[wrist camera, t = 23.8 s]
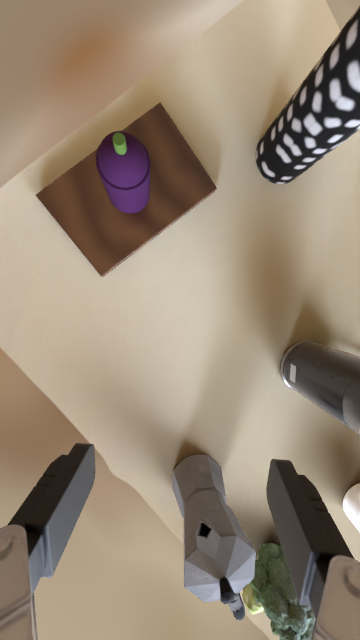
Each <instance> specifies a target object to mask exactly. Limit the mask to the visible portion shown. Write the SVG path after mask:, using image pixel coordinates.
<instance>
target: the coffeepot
mask: <svg viewBox="0 0 360 640" xmlns="http://www.w3.org/2000/svg"><path fill="white" fill-rule="evenodd" d="M173 491H174V494H175V497H176V500H177V502H178V505H179V508H180V511H181V514H182V517H183V518H184V587H185V588H186V589H188V590H189V591H190V592H192V593H193V594H194V595H195V596H197V597H198V598H199V599H201V600H202V601H203V602H211V601H218V600H221V602H223V603H224V604H228V605H229V607H230V609H231V611H233V614H234V617H235V618H236V619H237V620H242V619H243V618H244V616H245V608H244V604H243V602H242V599H241V596H240V593H239V592H240V591H241V590H242V589H243V588H244V587H245V586H246V585H247V584H248V583H249V582H250V581H251V580H252V579H253V578H254V572H255V558H256V551H255V550H254V548H253V546H252V544H251V543H250V541H249V539H248V537H247V536H246V534H245V532H244V530H243V529H242V527H241V525H240V523H239V522H238V520H237V518H236V516H235V515H234V513H233V511H232V509H231V508H230V507H229V506H228V505H227V504H226V495H225V489H224V483H223V477H222V472H221V467H220V466H219V465H218V464H217V463H216V462H215V461H214V460H213V459H212V458H210V457H209V456H208V455H200V454H197V455H192V456H187V457H186V458H185V459H183V460H182V461H181V462H180V463H179V464H178V465H177V467H176V468H175V469H174V470H173Z"/></svg>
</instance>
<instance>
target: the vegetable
mask: <svg viewBox="0 0 360 640" xmlns="http://www.w3.org/2000/svg"><path fill="white" fill-rule="evenodd" d="M258 558H259V559H258V560H255V572H254V578H253V579H252V580H251V581H250V582H249V584H247V585H246V586H245V587H244V588H243V600H244V603H245V605H246V607H247V609H248V610H249V611H250V612H251V613H252V614H256V613H259V612H263V613H266V615H267V616H268V617H269V619H270V620H271V628H272V632H273V634H274V635H275V634H276V635H277V636H278V634H279V637H280V640H311V635H312V631H313V626H314V622H315V616H314V613H313V610H312V607H311V606H307V605H299V601H298V598H297V595H296V592H295V588H294V585H293V582H292V579H291V576H290V572H289V569H288V566H287V563H286V559H285V556H284V553H283V550H282V546H281V544H280V546H278V545H276V544H273V543H269V544H266V543H264V544H263V545H262V548H261V550H260V551H259V553H258Z"/></svg>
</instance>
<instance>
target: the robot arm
mask: <svg viewBox="0 0 360 640" xmlns="http://www.w3.org/2000/svg"><path fill="white" fill-rule="evenodd" d="M280 371H281V376H282V379H283V381H284V382H285V384H286V385H287V386H288V387H290V388H291V389H293V390H295V391H297V392H298V393H300V394H301V395H302V396H304V397H305V398H307V399H308V400H310V401H311V402H313V403H314V404H315V405H317V406H318V407H320V408H321V409H323V410H324V411H326V412H327V413H329V414H330V415H332V416H333V417H334V418H336V419H337V420H339V421H340V422H342V423H343V424H345V425H346V426H348V427H349V428H351V429H352V430H353V431H355V432H357V433H358V434H359V435H360V356H356V355H353V354H350V353H347V352H344V351H340V350H337V349H334V348H331V347H328V346H325V345H322V344H320V343H317V342H314V341H308V340H306V341H300V342H298V343H296V344H294V345H292V346H291V347H290V348H289V349H288V350H287V351H286V352H285V354H284V356H283V358H282V361H281V366H280ZM94 452H95V450H94V445H93V444H84V443H76V444H75V445H74V447H73V448H72V450H71V451H70V453H69V454H68V455H61V456H60V457H58V458H57V459H56V460H55V461H54V462H52V463H51V464H50V466H49V467H48V468H47V470H46V471H45V473H44V474H43V477H41V478H40V480H39V481H38V483H37V485H36V486H35V487H34V488H33V490H32V491H31V493H30V494H29V495H28V497H27V498H26V500H25V501H24V503H23V504H22V505H21V507H20V508H19V510H18V511H17V512H16V514H15V515H14V517H13V518H12V520H11V521H10V522H9V524H8V525H7V526H5V527H2V528H0V640H38V635H37V623H36V611H35V599H34V590H35V588H36V586H37V584H38V582H39V580H40V578H41V577H48V578H52V576H53V574H54V571H55V569H56V567H57V565H58V563H59V560H60V558H61V556H62V554H63V551H64V549H65V547H66V545H67V542H68V540H69V538H70V535H71V533H72V531H73V529H74V527H75V524H76V522H77V520H78V517H79V516H80V513H81V511H82V509H83V506H84V504H85V502H86V500H87V497H88V495H89V493H90V491H91V489H92V486H93V483H94V479H95V453H94ZM267 500H268V504H269V508H270V511H271V514H272V517H273V521H274V524H275V527H276V530H277V533H278V537H279V540H280V543H281V546H282V550H283V553H284V556H285V559H286V563H287V566H288V569H289V572H290V576H291V579H292V582H293V585H294V588H295V592H296V595H297V598H298V601H299V605H307V606H311V607H312V610H313V613H314V616H315V622H314V626H313V631H312V635H311V640H360V562H358V561H356V560H355V559H354V557H353V556H352V554H351V552H350V550H349V548H348V547H347V545H346V543H345V541H344V539H343V537H342V535H341V534H340V532H339V530H338V528H337V526H336V524H335V522H334V521H333V519H332V517H331V515H330V513H328V510H327V508H326V506H325V504H324V502H322V498H321V497H320V495H319V493H318V491H317V489H316V487H315V486H314V485H313V484H312V483H311V482H310V481H309V480H308V479H307V478H306V477H305V475H298V474H297V472H296V470H295V468H294V466H293V464H292V462H291V461H289V460H277V459H272V460H271V463H270V469H269V476H268V482H267Z"/></svg>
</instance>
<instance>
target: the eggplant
mask: <svg viewBox="0 0 360 640" xmlns="http://www.w3.org/2000/svg"><path fill="white" fill-rule="evenodd" d="M96 166H97V170H98V172H99V175H100V177H101V179H102V182H103V184H104V186H105V189H106V191H107V193H108V196H109V198H110V200H111V202H112V204H113V205H114V206H115V207H116V208H117V209H118V210H120V211H122V212H125V213H136V212H139V211H141V210H142V209H143V208H144V207H145V206H146V205H147V203H148V201H149V198H150V157H149V154H148V151H147V149H146V148H145V146H144V145H143V144H142V143H141V142H140V141H139V140H138V139H137V138H136V137H135V136H133V135H131V134H130V133H127V132H123V131H117V132H113V133H110V134H109V135H107V136H106V137H105V138H104V139H103V141H102V142H101V144H100V146H99V147H98V150H97V153H96Z"/></svg>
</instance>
